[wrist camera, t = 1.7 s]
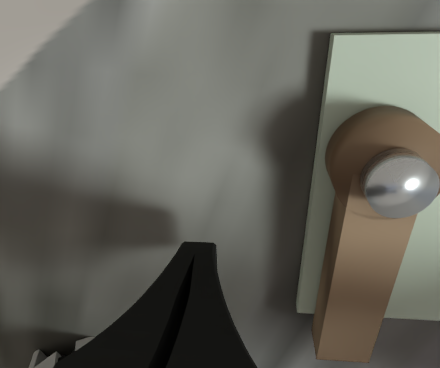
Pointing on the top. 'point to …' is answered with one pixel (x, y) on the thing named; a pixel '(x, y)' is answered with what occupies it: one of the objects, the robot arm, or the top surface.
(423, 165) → the pin
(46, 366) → the grey piece
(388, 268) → the link
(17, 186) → the top surface
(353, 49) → the base board
